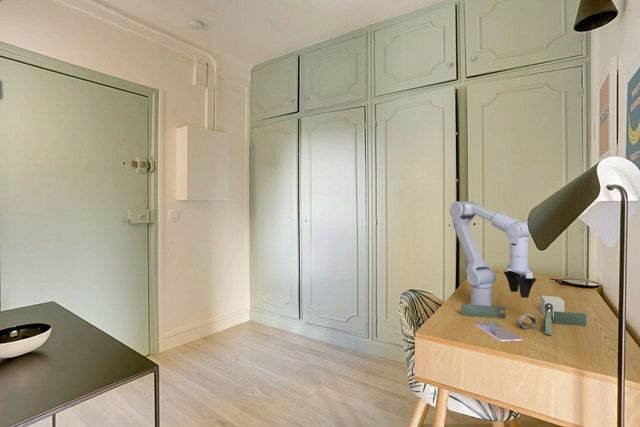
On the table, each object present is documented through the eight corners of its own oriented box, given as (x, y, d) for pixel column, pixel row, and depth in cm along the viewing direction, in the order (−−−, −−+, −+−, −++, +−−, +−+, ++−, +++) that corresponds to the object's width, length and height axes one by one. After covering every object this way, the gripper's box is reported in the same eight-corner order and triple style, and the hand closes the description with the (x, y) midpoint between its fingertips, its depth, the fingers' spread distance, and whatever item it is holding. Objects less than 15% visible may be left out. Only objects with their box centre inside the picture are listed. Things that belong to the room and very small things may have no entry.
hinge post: (543, 321, 113) (543, 302, 113) (583, 324, 110) (583, 304, 110) (546, 323, 111) (546, 304, 111) (587, 326, 107) (587, 306, 107)
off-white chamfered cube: (564, 317, 117) (564, 301, 117) (544, 315, 119) (544, 299, 119) (559, 312, 122) (559, 296, 122) (540, 310, 125) (540, 295, 125)
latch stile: (461, 314, 121) (461, 303, 121) (504, 317, 117) (504, 306, 117) (461, 315, 120) (461, 305, 120) (505, 318, 116) (505, 307, 116)
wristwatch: (538, 329, 106) (538, 314, 106) (522, 330, 105) (522, 315, 105) (529, 325, 110) (529, 310, 109) (514, 326, 108) (514, 312, 108)
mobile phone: (499, 339, 97) (474, 321, 112) (499, 342, 97) (474, 324, 112) (524, 338, 97) (495, 321, 112) (524, 341, 97) (495, 323, 112)
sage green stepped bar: (546, 322, 111) (545, 309, 111) (551, 323, 110) (551, 310, 110) (545, 333, 101) (545, 319, 101) (551, 335, 100) (551, 320, 100)
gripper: (498, 253, 121) (498, 289, 121) (516, 259, 107) (517, 300, 107) (518, 253, 120) (518, 289, 120) (539, 259, 106) (539, 300, 106)
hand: (519, 294), depth 114 cm, fingers open, 7 cm apart
